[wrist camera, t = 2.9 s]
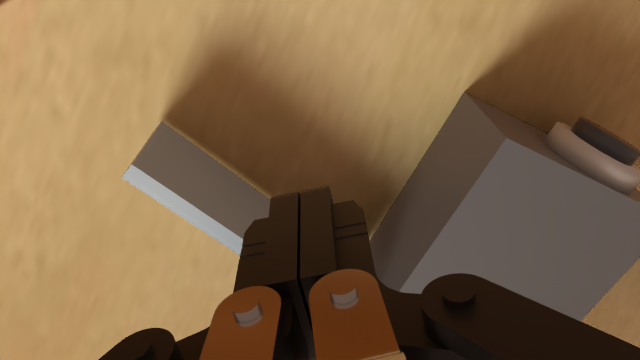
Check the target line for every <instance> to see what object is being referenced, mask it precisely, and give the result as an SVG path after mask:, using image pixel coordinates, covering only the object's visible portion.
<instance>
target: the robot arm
mask: <svg viewBox="0 0 640 360" xmlns="http://www.w3.org/2000/svg"><path fill="white" fill-rule="evenodd" d="M99 360H640V348H639V347H636V346H634V345H632V344H630V343H627V342H625V341H623V340H621V339H618V338H616V337H614V336H612V335H610V334H607V333H605V332H603V331H601V330H598V329H596V328H594V327H592V326H589V325H587V324H585V323H583V322H580V321H578V320H576V319H574V318H571V317H569V316H567V315H565V314H562V313H560V312H558V311H556V310H553V309H551V308H549V307H547V306H545V305H542V304H540V303H538V302H536V301H533V300H531V299H529V298H527V297H524V296H522V295H520V294H518V293H515V292H513V291H511V290H509V289H506V288H504V287H502V286H500V285H497V284H495V283H493V282H491V281H489V280H486V279H484V278H482V277H479V276H476V275H472V274H465V273H455V274H448V275H444V276H441V277H438V278H436V279H434V280H433V281H431V282H430V283H429V284H428V285H427V286H426V287H425V288H424V289H423V291H422V293H421V294H415V293H404V292H399V291H396V290H393V289H391V288H389V287H387V286H385V285H384V284H383V283H382V282H381V281H380V280H379V279H378V277H377V275H376V272H375V267H374V262H373V257H372V252H371V247H370V242H369V237H368V232H367V227H366V222H365V217H364V212H363V209H362V208H361V207H359V206H358V205H357V204H356V203H355V202H354V201H353V200H352V201H347V202H342V203H337V204H333V200H332V195H331V191H330V188H329V186H325V187H320V188H315V189H310V190H305V191H301V194H300V192H295V193H290V194H285V195H280V196H275V197H271V200H270V209H269V217H267V218H262V219H257V220H254V221H253V222H252V224H251V225H250V226H249V228H248V229H247V230H246V231H245V233H244V237H243V243H242V249H241V254H240V259H239V264H238V270H237V275H236V281H235V286H234V291H233V294H231V295H229V296H228V297H226V298H225V299H224V300H223V301H222V302H221V303H220V304H219V305H218V307H217V308H216V310H215V313H214V315H213V318H212V322H211V325H210V326H209V327H208V328H206V329H204V330H202V331H200V332H198V333H196V334H193V335H191V336H189V337H186V338H184V339H182V340H179V341H177V342H176V341H175V339H174V337H173V335H172V334H171V333H170V332H169V331H168V330H165V329H162V328H149V329H145V330H141V331H138V332H136V333H134V334H132V335H130V336H128V337H126V338H125V339H123V340H122V341H121V342H119V343H118V344H117V345H115V346H114V347H113V348H112V349H111V350H109V351H108V352H107V353H106V354H105V355H103V356H102V357H101V358H100V359H99Z"/></svg>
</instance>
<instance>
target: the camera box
mask: <svg viewBox="0 0 640 360" xmlns="http://www.w3.org/2000/svg"><path fill="white" fill-rule="evenodd" d="M639 156H640V151H639V150H638V149H637V148H635V147H634V146H632V145H631V144H629V143H628V142H626V141H625V140H623V139H621V138H620V137H618V136H616V135H615V134H613V133H611V132H609V131H608V130H606V129H604V128H602V127H601V126H599V125H597V124H595V123H593V122H591V121H589V120H587V119H585V118H582V117H580V118H579V119H578V121H577V122H576V123H575V125H574V126H573V127H571V126H569V125H567V124H564V123H561V122H557V123H556V124H555V125H554V127H553V128H552V130H551V131H550V132H549V134H547V133H545V132H543V131H541V130H539V129H537V128H535V127H533V126H531V125H529V124H527V123H525V122H523V121H521V120H519V119H517V118H515V117H513V116H511V115H509V114H507V113H505V112H503V111H501V110H499V109H497V108H495V107H493V106H491V105H489V104H487V103H485V102H483V101H481V100H479V99H477V98H475V97H473V96H471V95H469V94H467V93H465V92H464V94H463V95H462V97H461V98H460V100H459V101H458V103H457V105H456V106H455V108H454V109H453V111H452V112H451V114H450V116H449V117H448V119H447V120H446V122H445V123H444V125H443V127H442V128H441V130H440V131H439V133H438V135H437V136H436V138H435V139H434V141H433V142H432V144H431V146H430V147H429V149H428V150H427V152H426V153H425V155H424V157H423V158H422V160H421V161H420V163H419V164H418V166H417V168H416V169H415V171H414V172H413V174H412V176H411V177H410V179H409V180H408V182H407V183H406V185H405V187H404V188H403V190H402V191H401V193H400V194H399V196H398V198H397V199H396V201H395V202H394V204H393V205H392V207H391V209H390V210H389V212H388V213H387V215H386V217H385V218H384V220H383V221H382V223H381V224H380V226H379V228H378V229H377V231H376V232H375V234H374V235H373V237H372V239H371V240H370V247H371V252H372V257H373V262H374V267H375V272H376V275H377V277H378V279H379V280H380V281H381V282H382V283H383V284H384V285H385V286H387V287H389V288H391V289H393V290H396V291H399V292H404V293H415V294H421V293H422V291H423V289H424V288H425V287H426V286H427V285H428V284H429V283H430V282H431V281H433V280H434V279H436V278H438V277H441V276H444V275H448V274H455V273H465V274H472V275H476V276H479V277H482V278H484V279H486V280H489V281H491V282H493V283H495V284H497V285H500V286H502V287H504V288H506V289H509V290H511V291H513V292H515V293H518V294H520V295H522V296H524V297H527V298H529V299H531V300H533V301H536V302H538V303H540V304H542V305H545V306H547V307H549V308H551V309H553V310H556V311H558V312H560V313H562V314H565V315H567V316H569V317H571V318H574V319H576V320H578V321H581V320H582V319H583V318H584V317H585V316H586V315H587V314H588V312H589V311H590V310H591V309H592V308H593V307H594V306H595V305H596V304H597V303H598V302H599V301H600V300H601V298H602V297H603V296H604V295H605V294H606V293H607V292H608V291H609V290H610V289H611V288H612V287H613V286H614V284H615V283H616V282H617V281H618V280H619V279H620V278H621V277H622V276H623V275H624V274H625V273H626V272H627V270H628V269H629V268H630V267H631V266H632V265H633V264H634V263H635V262H636V261H637V260H638V259H639V258H640V192H639V191H638V190H637V189H636V186H637V185H638V184H639V183H640V168H639V167H637V166H636V165H635V164H633V163H634V162H635V161H636V160H637V159H638V157H639Z"/></svg>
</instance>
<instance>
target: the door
mask: <svg viewBox="0 0 640 360" xmlns="http://www.w3.org/2000/svg"><path fill="white" fill-rule="evenodd" d="M121 178H123V179H124V180H126V181H127V182H129V183H130V184H132V185H133V186H135V187H136V188H138V189H139V190H141V191H143V192H144V193H146V194H147V195H149V196H150V197H152V198H153V199H155V200H156V201H158V202H159V203H161V204H162V205H164V206H165V207H167V208H168V209H170V210H171V211H173V212H174V213H176V214H177V215H179V216H181V217H182V218H184V219H185V220H187V221H188V222H190V223H191V224H193V225H194V226H196V227H197V228H199V229H200V230H202V231H203V232H205V233H206V234H208V235H209V236H211V237H212V238H214V239H215V240H217V241H218V242H220V243H222V244H223V245H225V246H226V247H228V248H229V249H231V250H232V251H234V252H235V253H237V254H238V255H240V254H241V249H242V243H243V237H244V233H245V231H246V230H247V229H248V228H249V226H250V225H251V224H252V222H253V221H254V220H257V219H262V218H267V217H269V209H270V200H271V199H269V198H268V197H267V196H265V195H264V194H262V193H261V192H260V191H258V190H257V189H256V188H254V187H253V186H251V185H250V184H249V183H247V182H246V181H244V180H243V179H242V178H240V177H239V176H237V175H236V174H235V173H233V172H232V171H230V170H229V169H228V168H226V167H225V166H224V165H222V164H221V163H219V162H218V161H217V160H215V159H214V158H212V157H211V156H210V155H208V154H207V153H205V152H204V151H203V150H201V149H200V148H199V147H197V146H196V145H194V144H193V143H192V142H190V141H189V140H187V139H186V138H185V137H183V136H182V135H180V134H179V133H178V132H176V131H175V130H173V129H172V128H171V127H169V126H168V125H167V124H165V123H164V122H161V123H160V124H159V125H158V127H157V128H156V129H155V131H154V132H153V133H152V135H151V136H150V138H149V139H148V140H147V142H146V143H145V145H144V146H143V148H142V149H141V150H140V152H139V153H138V155H137V156H136V158H135V159H134V160H133V162H132V163H131V165H130V166H129V167H128V169H127V170H126V172H125V173H124V175H123V176H122V177H121Z"/></svg>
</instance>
